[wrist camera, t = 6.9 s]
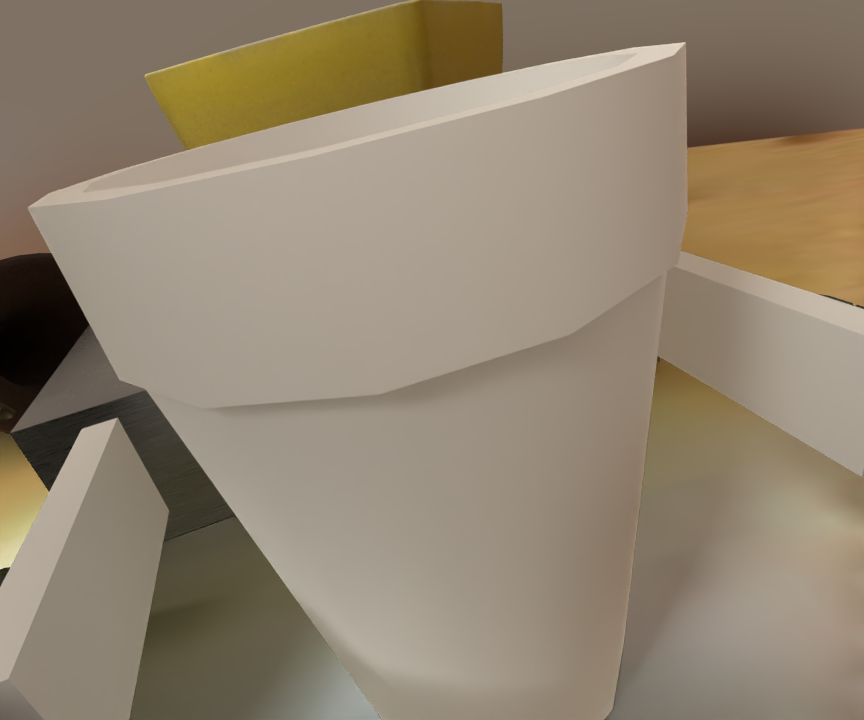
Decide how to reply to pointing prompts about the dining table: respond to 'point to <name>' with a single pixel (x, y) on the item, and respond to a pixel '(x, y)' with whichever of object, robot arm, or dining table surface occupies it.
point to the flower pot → (330, 68)
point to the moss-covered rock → (3, 413)
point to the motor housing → (142, 421)
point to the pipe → (33, 328)
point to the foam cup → (417, 362)
